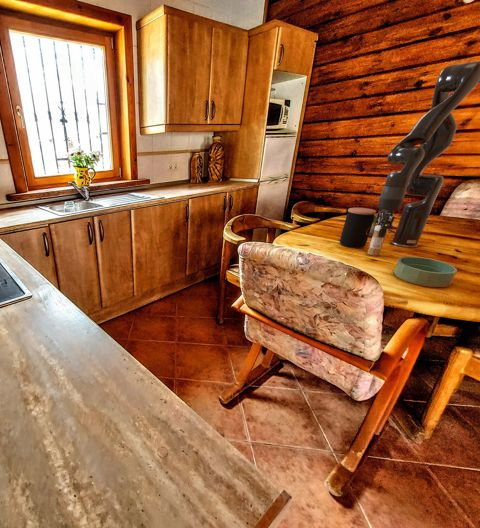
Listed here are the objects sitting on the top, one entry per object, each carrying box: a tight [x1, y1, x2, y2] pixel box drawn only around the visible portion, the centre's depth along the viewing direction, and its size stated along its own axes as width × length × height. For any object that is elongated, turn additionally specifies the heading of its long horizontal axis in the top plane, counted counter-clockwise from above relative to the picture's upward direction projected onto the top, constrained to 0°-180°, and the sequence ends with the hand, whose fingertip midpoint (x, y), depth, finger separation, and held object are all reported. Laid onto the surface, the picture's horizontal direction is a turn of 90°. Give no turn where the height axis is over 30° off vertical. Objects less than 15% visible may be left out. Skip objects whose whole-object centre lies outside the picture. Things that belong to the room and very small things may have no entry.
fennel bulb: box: [368, 214, 378, 238], centre depth 148 cm, size 6×5×12 cm
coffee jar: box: [339, 207, 377, 249], centre depth 137 cm, size 11×11×18 cm
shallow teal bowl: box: [392, 256, 458, 288], centre depth 105 cm, size 16×16×6 cm
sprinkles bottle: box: [367, 225, 389, 257], centre depth 125 cm, size 5×5×14 cm
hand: (379, 235), depth 124 cm, fingers closed on sprinkles bottle, 4 cm apart
